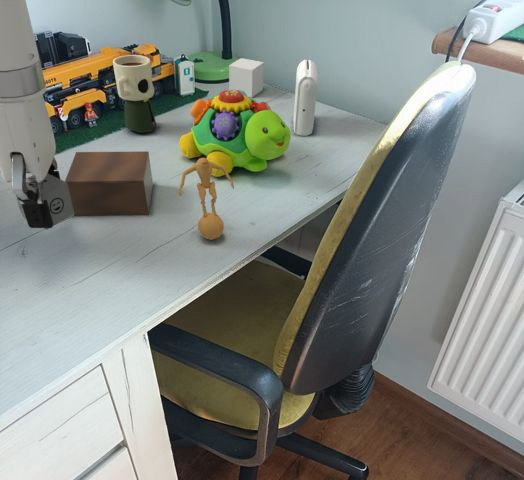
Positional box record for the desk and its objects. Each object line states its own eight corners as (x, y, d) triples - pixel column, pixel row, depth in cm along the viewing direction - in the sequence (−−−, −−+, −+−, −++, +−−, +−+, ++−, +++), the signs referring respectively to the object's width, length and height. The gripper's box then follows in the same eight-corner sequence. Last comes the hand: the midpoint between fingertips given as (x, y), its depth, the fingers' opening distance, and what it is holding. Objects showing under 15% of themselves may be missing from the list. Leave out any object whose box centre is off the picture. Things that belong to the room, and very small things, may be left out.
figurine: (188, 248, 78) (181, 174, 69) (180, 227, 82) (172, 154, 73) (240, 240, 80) (240, 167, 71) (230, 220, 84) (228, 148, 75)
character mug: (144, 142, 102) (134, 72, 93) (112, 136, 104) (99, 66, 94) (168, 121, 110) (161, 54, 100) (138, 116, 111) (129, 49, 102)
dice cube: (22, 217, 73) (12, 184, 69) (50, 202, 76) (42, 170, 72) (46, 229, 71) (37, 197, 67) (74, 214, 74) (66, 182, 70)
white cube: (263, 89, 124) (264, 62, 120) (251, 97, 120) (252, 70, 116) (241, 84, 126) (241, 57, 121) (229, 92, 122) (228, 65, 117)
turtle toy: (243, 201, 88) (243, 133, 79) (170, 151, 100) (163, 87, 92) (315, 172, 96) (322, 107, 87) (238, 129, 108) (238, 68, 99)
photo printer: (313, 137, 106) (319, 72, 97) (292, 136, 106) (297, 71, 97) (312, 116, 113) (318, 54, 104) (293, 115, 113) (297, 53, 104)
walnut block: (74, 215, 83) (64, 181, 79) (84, 185, 90) (75, 151, 86) (148, 214, 84) (143, 180, 80) (153, 184, 91) (148, 151, 87)
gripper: (-4, 51, 66) (34, 180, 78) (-50, 106, 54) (3, 247, 67) (57, 53, 66) (84, 181, 79) (25, 108, 54) (63, 247, 67)
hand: (47, 210), depth 73 cm, fingers closed on dice cube, 7 cm apart
